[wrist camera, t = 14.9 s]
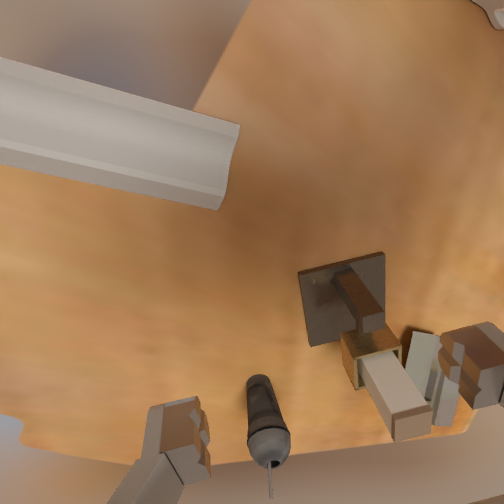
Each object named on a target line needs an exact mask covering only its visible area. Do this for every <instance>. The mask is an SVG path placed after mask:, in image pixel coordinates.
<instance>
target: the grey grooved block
mask: <svg viewBox="0 0 504 504" xmlns="http://www.w3.org/2000/svg"><path fill="white" fill-rule="evenodd" d="M412 333H413V334H412V335H413V336H412V339H411V344H410V349H409V353H408V358H407V362H406V368H405V371H406V372H407V374H408V375H409V377H410V378H411V380H412V381H413V383H414V384H415V386H416V387H417V389H418V390H419V392H420V393H421V395H422V396H423V398H424V399H425V401H426V402H427V403H428V405H430V407H431V408H432V410H433V415H432V424H433V425H434V426H437V425H438V426H450V427H451V426H452V422H453V418H454V415H455V411H456V407H457V403H458V398H459V394H460V393H459V392H458V384H456V383H454V382H452V381H450V380H449V379H448V378H447V377H446V375H445V374H444V373H443V371H442V369H441V367H440V364H439V361H438V351H439V350H440V349H441V348H442V346H443V345H442V344H441V343H440V342H439V341H440V337H439V336H438V335H433V334H428V333H426V334H425V333H423V332H422V333H420V332H416V331H413V332H412Z"/></svg>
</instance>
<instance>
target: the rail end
mask: <svg viewBox="0 0 504 504" xmlns="http://www.w3.org/2000/svg"><path fill="white" fill-rule="evenodd" d="M357 370H358V372H359V374H360V376H361V378H362V380H363V382H364V384H365V386H366V388H367V389H368V391H369V393H370V395H371V397H372V399H373V401H374V403H375V405H376V407H377V409H378V411H379V413H380V415H381V417H382V418H383V420H384V422H385V424H386V426H387V428H388V430H389V432H390V434H391V437H392V439H393V441H394V443H395V442H399V441H403V440H407V439H411V438H415V437H418V436H422V435H426V434H430V433H431V424H432V415H433V410H432V408H431V407H430V405H428V403H427V402H426V401H425V399H424V398H423V396H422V395H421V393H420V392H419V390H418V389H417V387H416V386H415V384H414V383H413V381H412V380H411V378H410V377H409V375H408V374H407V372H406V371H405V369H404V368H403V366H402V365H401V363H400V362H399V360H398V359H397V357H396V356H395V354H394V353H393V351H389V352H385V353H381V354H377V355H373V356H369V357H365V358H361V359H357Z"/></svg>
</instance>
